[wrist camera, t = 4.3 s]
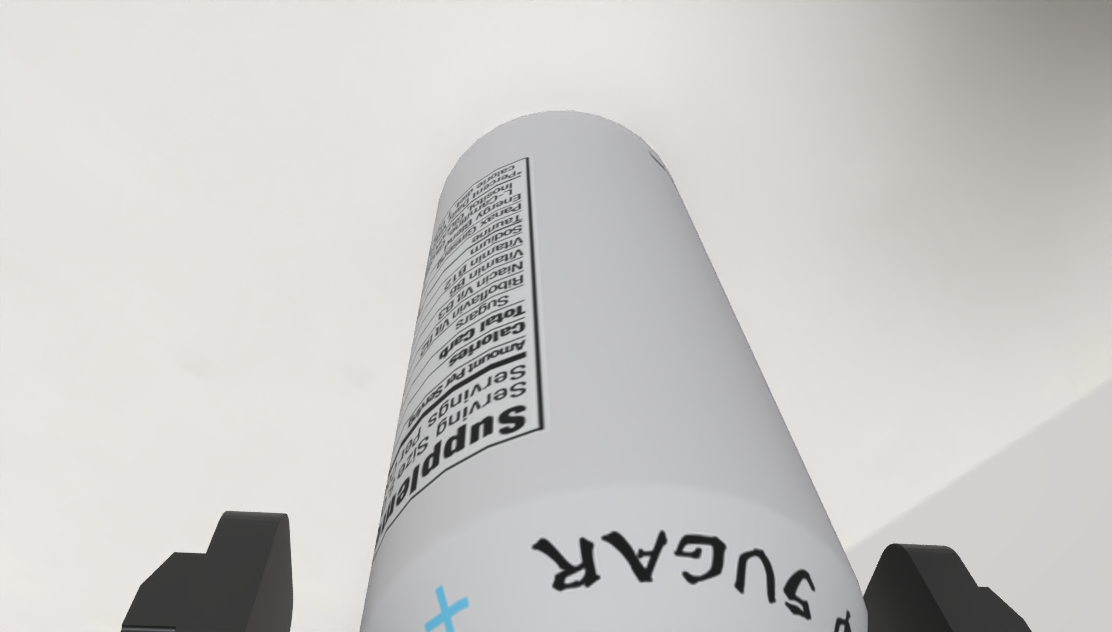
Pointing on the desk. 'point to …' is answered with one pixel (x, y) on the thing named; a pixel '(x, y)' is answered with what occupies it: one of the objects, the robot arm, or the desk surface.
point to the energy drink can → (590, 417)
